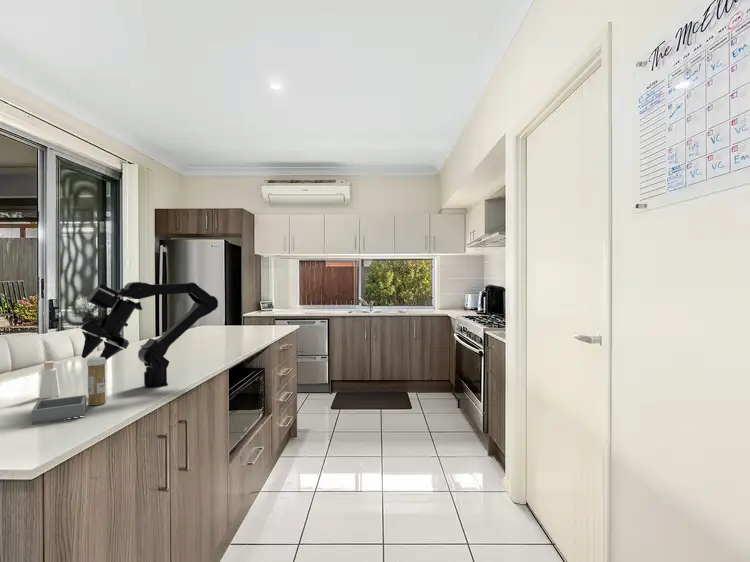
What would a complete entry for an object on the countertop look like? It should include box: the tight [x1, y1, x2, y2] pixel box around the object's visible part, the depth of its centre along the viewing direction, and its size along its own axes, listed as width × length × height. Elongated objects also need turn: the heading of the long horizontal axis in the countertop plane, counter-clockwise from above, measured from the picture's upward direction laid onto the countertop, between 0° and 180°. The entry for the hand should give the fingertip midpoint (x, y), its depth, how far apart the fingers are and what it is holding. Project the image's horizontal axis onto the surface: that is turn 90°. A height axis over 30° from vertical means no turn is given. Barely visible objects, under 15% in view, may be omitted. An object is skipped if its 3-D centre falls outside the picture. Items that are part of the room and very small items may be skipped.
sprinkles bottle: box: [86, 356, 107, 406], centre depth 129 cm, size 5×5×14 cm
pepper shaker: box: [38, 360, 61, 399], centre depth 139 cm, size 5×5×11 cm
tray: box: [31, 394, 87, 426], centre depth 118 cm, size 11×11×4 cm
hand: (91, 360), depth 139 cm, fingers open, 9 cm apart
